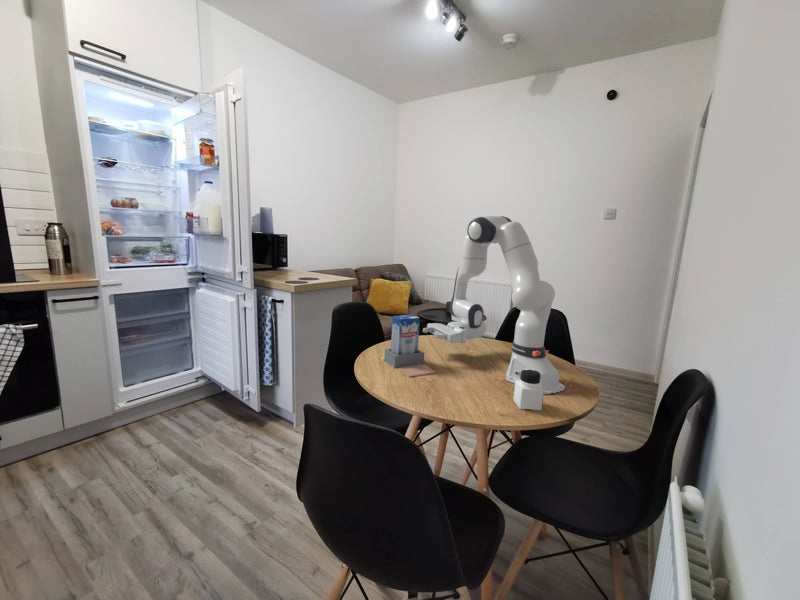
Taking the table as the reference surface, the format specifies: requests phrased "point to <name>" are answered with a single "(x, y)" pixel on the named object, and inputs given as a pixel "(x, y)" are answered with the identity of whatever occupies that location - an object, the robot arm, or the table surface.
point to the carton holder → (404, 359)
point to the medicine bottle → (529, 390)
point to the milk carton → (405, 334)
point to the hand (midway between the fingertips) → (429, 333)
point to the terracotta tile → (416, 370)
